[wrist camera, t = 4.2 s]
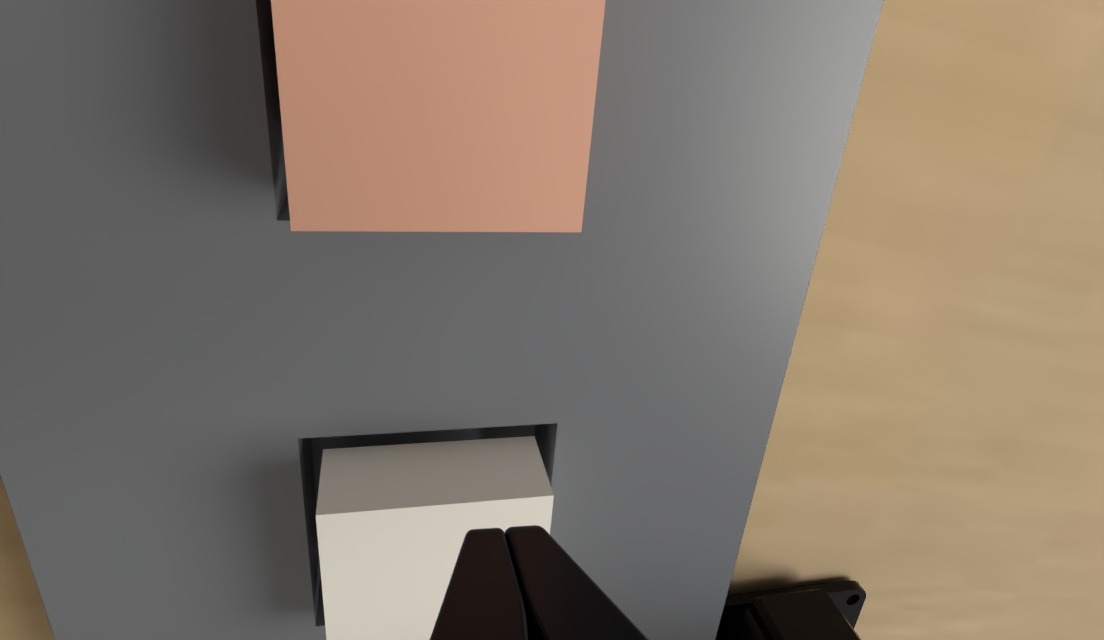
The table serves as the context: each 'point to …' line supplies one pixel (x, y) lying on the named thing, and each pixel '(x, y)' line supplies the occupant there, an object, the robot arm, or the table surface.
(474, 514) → the cream key
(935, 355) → the table surface
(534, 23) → the peach square block
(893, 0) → the table surface
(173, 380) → the keypad
